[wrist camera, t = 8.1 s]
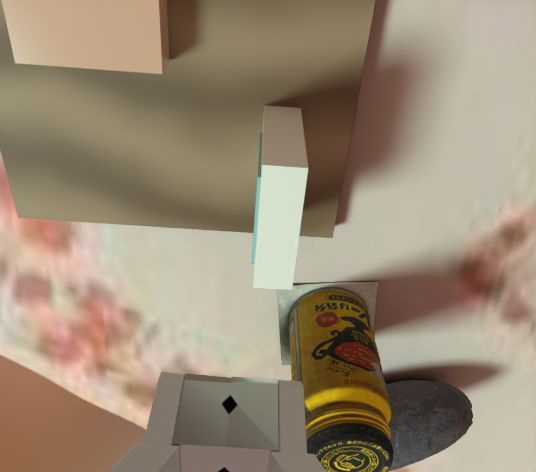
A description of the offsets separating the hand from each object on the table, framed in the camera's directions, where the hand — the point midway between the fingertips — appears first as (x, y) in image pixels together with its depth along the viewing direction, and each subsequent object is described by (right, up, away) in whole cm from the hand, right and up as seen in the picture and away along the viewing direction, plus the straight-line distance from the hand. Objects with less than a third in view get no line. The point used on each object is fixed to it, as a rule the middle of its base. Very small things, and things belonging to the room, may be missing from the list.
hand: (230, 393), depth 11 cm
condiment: (+5, -3, +28) cm, 29 cm away
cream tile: (+1, +8, +19) cm, 20 cm away
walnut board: (-4, +12, +17) cm, 21 cm away
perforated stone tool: (+10, -10, +33) cm, 36 cm away
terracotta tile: (-4, +15, +12) cm, 19 cm away
